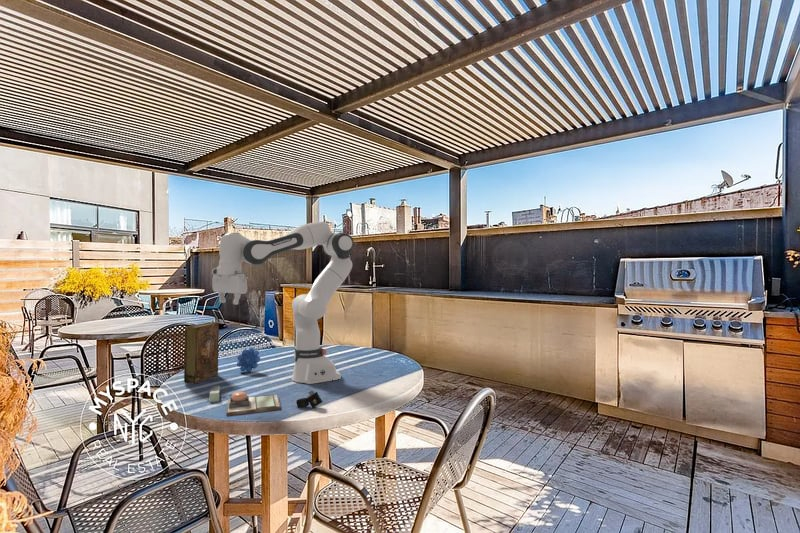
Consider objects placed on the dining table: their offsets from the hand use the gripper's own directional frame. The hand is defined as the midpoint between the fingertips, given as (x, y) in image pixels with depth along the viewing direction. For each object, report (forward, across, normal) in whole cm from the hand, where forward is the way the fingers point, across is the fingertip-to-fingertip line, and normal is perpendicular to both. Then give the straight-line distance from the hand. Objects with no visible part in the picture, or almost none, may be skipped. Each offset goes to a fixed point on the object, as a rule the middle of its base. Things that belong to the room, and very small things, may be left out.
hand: (229, 303), depth 163 cm
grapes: (+36, +17, -23) cm, 46 cm away
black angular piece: (+36, -44, -6) cm, 57 cm away
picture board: (+36, -26, +5) cm, 45 cm away
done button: (+33, -23, +9) cm, 42 cm away
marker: (+36, -6, +8) cm, 38 cm away
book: (+36, +22, -2) cm, 43 cm away
